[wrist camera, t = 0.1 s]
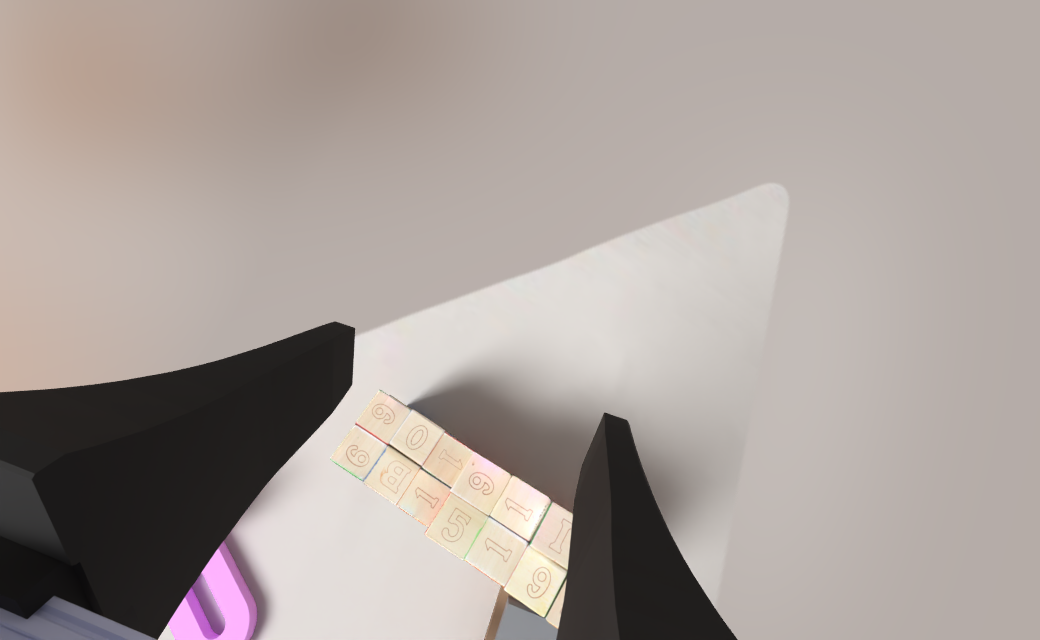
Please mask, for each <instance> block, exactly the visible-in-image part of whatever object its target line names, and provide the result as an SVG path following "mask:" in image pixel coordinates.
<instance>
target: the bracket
mask: <svg viewBox="0 0 1040 640" xmlns="http://www.w3.org/2000/svg"><path fill="white" fill-rule="evenodd" d="M201 574H203V576H204V578H205V580H206V582H207V584H208V586H209V588H210V590H211V592H212V594H213V596H214V598H215V600H216V602H217V604H218V606H219V608H220V610H221V612H222V614H223V616H224V618H225V622H226V624H225V629H224V631H223V633H222V634H221V635H219V634H216V633H214V632H213V630H212V628H211V626H210V624H209V622H208V620H207V618H206V616H205V614H204V612H203V610H202V608H201V606H200V603H199V601H198V599H197V597H196V595H195V593H194V591H193V589H192V587H191V589H190V590H189V592H188V593H187V595H186V596H185V598H184V599H183V601H182V602H181V604H180V605H179V607H178V609H177V610H176V612H175V613H174V615H173V616H172V618H171V619H170V621H169V622H168V625H169V627H170V629H171V631H172V634H173V636H174V638H175V640H250V639H251V637H252V635H253V633H254V630H255V627H256V623H257V607H256V603H255V600H254V598H253V596H252V594H251V592H250V590H249V588H248V586H247V584H246V582H245V581H244V579H243V577H242V575H241V573H240V571H239V569H238V567H237V565H236V563H235V561H234V559H233V557H232V555H231V553H230V552H229V550H228V548H227V546H226V544H225V542H224V541H223V542H222V544H221V545H220V547H219V548H218V549H217V551H216V552H215V554H214V555H213V557H212V558H211V559H210V561H209V562H208V564H207V565H206V567H205V568H204V570H203V571H202V573H201Z"/></svg>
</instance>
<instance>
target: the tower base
mask: <svg viewBox="0 0 1040 640" xmlns="http://www.w3.org/2000/svg"><path fill="white" fill-rule="evenodd" d="M508 596H509V597H512V598H514V597H513V596H512V595H510V594H509V593H507V592H506V591H505V590H504V588H503V586H501V587H500V591H499V594H498V597H497V600H496V603H495V607H494V610H493V613H492V616H491V619H490V623H489V626H488V629H487V632H486V635H485V639H484V640H494V639H495V636H496V633H497V630H498V627H499V623H500V620H501V617H502V614H503V611H504V608H505V605H506V602H507V599H508ZM514 599H516V598H514Z"/></svg>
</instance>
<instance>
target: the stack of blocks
mask: <svg viewBox="0 0 1040 640" xmlns="http://www.w3.org/2000/svg"><path fill="white" fill-rule="evenodd" d="M330 460H332V461H333V462H334V463H336V464H337V465H339V466H340V467H342V468H343V469H345V470H346V471H348V472H349V473H350V474H352V475H353V476H355V477H357V478H358V479H360V480H362V481H363V483H364V484H365V485H367V486H368V487H370V488H371V489H373V490H374V491H376V492H377V493H378V494H380V495H381V496H383V497H384V498H386V499H387V500H389V501H390V502H392V503H393V504H395V505H396V506H398V507H399V508H400V509H401V510H403V511H404V512H406V513H407V514H409V515H410V516H412V517H413V518H415V519H416V520H418V521H419V522H421V523H422V524H424V525H425V526H427V527H428V529H427V530H426V532H425V535H426V536H427V537H429V538H430V539H432V540H433V541H435V542H436V543H437V544H439V545H440V546H442V547H443V548H445V549H446V550H448V551H449V552H451V553H452V554H454V555H455V556H457V557H458V558H459V559H461V560H465V561H466V562H468V563H469V564H471V565H472V566H473V567H475V568H476V569H478V570H479V571H481V572H482V573H484V574H485V575H487V576H488V577H489V578H491V579H492V580H494V581H495V582H497V583H498V584H500V585H501V586H503V588H504V590H505V591H506V592H507V593H509V594H510V595H512V596H513V597H514V598H516V599H517V600H519V601H520V602H522V603H523V604H525V605H526V606H527V607H529V608H530V609H532V610H533V611H534V612H536V613H537V614H539V615H540V616H542V617H544V618H545V619H546V620H547V621H548V622H549V623H550V624H552V625H553V626H554V627H556V628H557V629H558V627H559V622H560V617H561V612H562V607H563V602H564V595H565V588H566V580H567V570H568V559H569V549H570V539H571V529H572V519H573V514H572V513H571V512H569V511H567V510H566V509H564V508H563V507H561V506H559V505H558V504H556V503H555V502H553V501H552V500H551V499H550V498H549V497H548V496H546V495H545V494H543V493H542V492H540V491H538V490H536V489H535V488H533V487H532V486H530V485H529V484H527V483H525V482H524V481H522V480H521V479H519V478H518V477H516V476H513V475H511V474H510V473H508V472H507V471H505V470H504V469H502V468H500V467H499V466H497V465H496V464H494V463H493V462H491V461H490V460H488V459H486V458H485V457H483V456H481V455H479V454H478V453H476V452H475V451H473V450H472V449H470V448H469V447H467V446H466V445H464V444H463V443H461V442H459V441H458V439H457V438H455V437H454V436H452V435H451V434H449V433H448V432H446V431H445V430H444V429H443V428H441V427H440V426H438V425H437V424H435V423H434V422H432V421H431V420H429V419H428V418H426V417H425V416H423V415H422V414H420V413H418V412H417V411H415V410H412V409H410V408H409V407H407V406H406V405H404V404H403V403H402V402H400V401H399V400H397V399H396V398H394V397H393V396H391V395H387V394H386V393H384V392H383V391H381V390H379V391H378V392H377V394H376V395H375V396H374V398H373V399H372V400H371V402H370V403H369V405H368V406H367V407H366V409H365V410H364V411H363V413H362V414H361V415H360V417H359V418H358V420H357V421H356V424H355V425H354V426H353V428H352V429H351V430H350V432H349V433H348V434H347V436H346V437H345V438H344V440H343V441H342V443H341V444H340V446H339V447H338V448H337V450H336V451H335V452H334V454H333V455H332V456H331V458H330Z"/></svg>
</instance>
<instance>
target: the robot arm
mask: <svg viewBox="0 0 1040 640" xmlns="http://www.w3.org/2000/svg"><path fill="white" fill-rule="evenodd" d="M354 339H355V328H353V327H350V326H347V325H344V324H341V323H338V322H332V323H328V324H325V325H322V326H319V327H317V328H314V329H311V330H308V331H305V332H303V333H300V334H297V335H294V336H292V337H289V338H286V339H283V340H280V341H277V342H274V343H272V344H269V345H266V346H263V347H260V348H257V349H253V350H251V351H247V352H244V353H241V354H238V355H235V356H231V357H228V358H225V359H221V360H218V361H214V362H210V363H206V364H203V365H199V366H194V367H190V368H186V369H181V370H177V371H173V372H168V373H163V374H157V375H152V376H146V377H140V378H134V379H129V380H123V381H117V382H109V383H102V384H95V385H86V386H77V387H67V388H57V389H45V390H30V391H14V392H0V640H158V638H159V637H160V635H161V633H162V632H163V630H164V629H165V627H166V626H167V624H168V622H169V621H170V619H171V618H172V616H173V615H174V613H175V612H176V610H177V609H178V607H179V605H180V604H181V602H182V601H183V599H184V598H185V596H186V595H187V593H188V592H189V590H190V589H191V587H192V586H193V584H194V583H195V581H196V580H197V578H198V577H199V575H200V574H201V573H202V571H203V570H204V568H205V567H206V565H207V564H208V562H209V561H210V559H211V558H212V557H213V555H214V554H215V552H216V551H217V549H218V548H219V547H220V545H221V544H222V542H223V541H224V540H225V538H226V537H227V536H228V534H229V533H230V532H231V530H232V529H233V527H234V526H235V525H236V523H237V522H238V521H239V519H240V518H241V516H242V515H243V514H244V513H245V511H246V510H247V509H248V507H249V506H250V505H251V503H252V502H253V501H254V500H255V498H256V497H257V496H258V494H259V493H260V492H261V490H262V489H263V488H264V487H265V485H266V484H267V483H268V482H269V481H270V480H271V478H272V477H273V476H274V475H275V474H276V473H277V472H278V471H279V469H280V468H281V467H282V466H283V465H284V464H285V463H286V462H287V461H288V460H289V459H290V458H291V457H292V456H293V455H294V454H295V452H296V451H297V450H298V449H299V448H300V447H301V446H302V445H303V444H304V443H305V442H306V441H307V440H308V439H309V438H310V437H311V435H312V434H313V433H314V432H315V431H316V430H317V429H318V428H319V427H320V426H321V425H322V424H323V423H324V421H325V420H326V419H327V418H328V417H329V416H330V415H331V414H332V413H333V411H334V410H335V408H336V407H337V406H338V404H339V403H340V402H341V400H342V399H343V397H344V396H345V394H346V393H347V391H348V390H349V389H350V387H351V386H352V378H353V359H354ZM556 640H737V638H736V637H735V636H734V634H733V633H732V632H731V630H730V629H729V628H728V626H727V625H726V623H725V622H724V621H723V619H722V618H721V617H720V615H719V613H718V612H717V611H716V609H715V608H714V606H713V605H712V603H711V601H710V600H709V598H708V597H707V595H706V594H705V592H704V591H703V589H702V588H701V586H700V585H699V583H698V581H697V580H696V578H695V577H694V575H693V574H692V572H691V570H690V568H689V567H688V565H687V563H686V562H685V560H684V558H683V556H682V554H681V553H680V551H679V549H678V547H677V545H676V543H675V541H674V540H673V538H672V536H671V534H670V532H669V530H668V527H667V525H666V523H665V521H664V519H663V517H662V515H661V512H660V510H659V508H658V506H657V503H656V501H655V499H654V496H653V494H652V491H651V489H650V486H649V484H648V481H647V478H646V476H645V473H644V470H643V468H642V465H641V462H640V459H639V456H638V453H637V450H636V446H635V443H634V440H633V436H632V433H631V429H630V425H629V423H628V421H627V420H625V419H622V418H619V417H616V416H613V415H610V414H607V413H604V415H603V417H602V420H601V422H600V424H599V427H598V429H597V431H596V434H595V436H594V438H593V441H592V443H591V446H590V448H589V450H588V453H587V455H586V457H585V460H584V462H583V464H582V468H581V472H580V477H579V481H578V486H577V491H576V495H575V500H574V509H573V519H572V529H571V539H570V549H569V559H568V570H567V580H566V588H565V595H564V602H563V607H562V612H561V617H560V622H559V627H558V633H557V638H556Z"/></svg>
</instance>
